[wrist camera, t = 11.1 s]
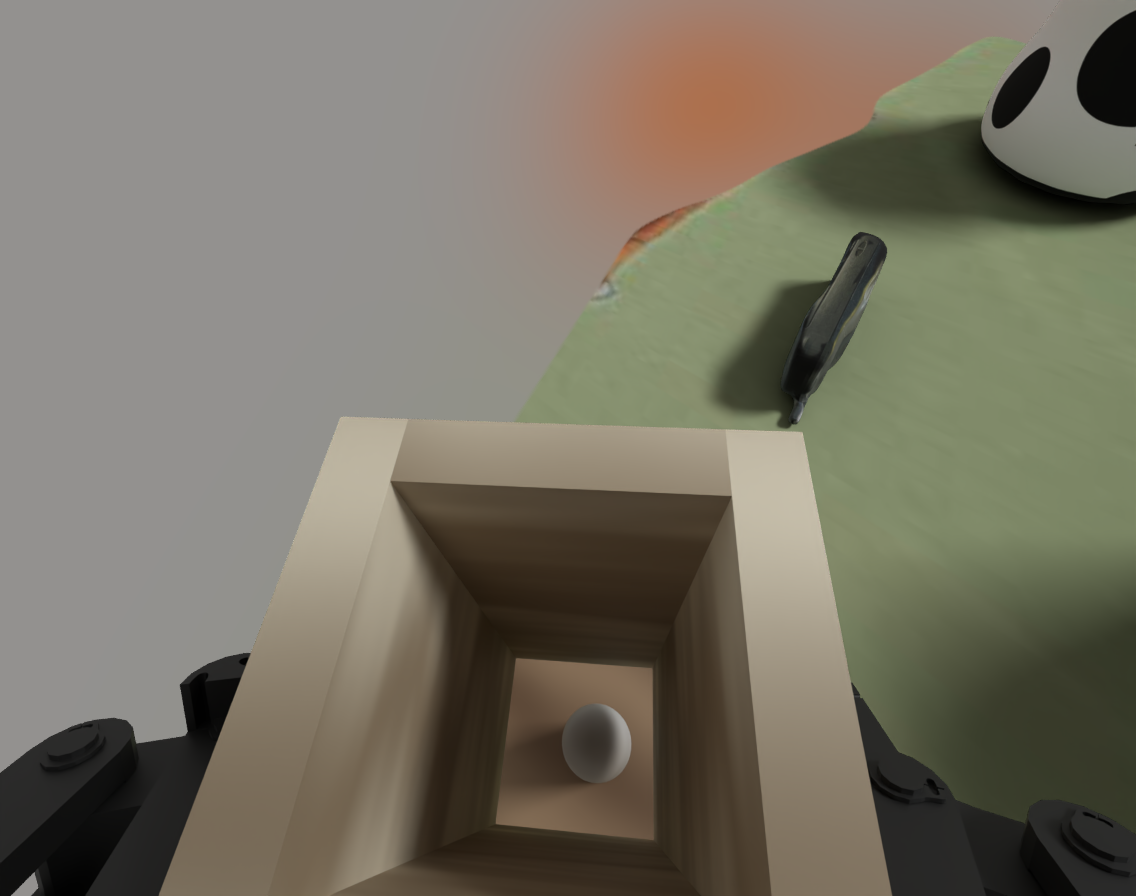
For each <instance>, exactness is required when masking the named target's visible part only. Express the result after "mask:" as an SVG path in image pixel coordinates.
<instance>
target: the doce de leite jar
mask: <svg viewBox="0 0 1136 896" xmlns="http://www.w3.org/2000/svg"><path fill="white" fill-rule="evenodd" d="M981 137H982V143H983V145H984V147H985V148H986V150H987V151H988V152H989V154H990V155H991V156H992V158H993V159H994V161H995V162H996V163H997V165H998V166H1000V167H1001V168H1003V169H1004V170H1006V171H1007V172H1009V173H1010V174H1012V175H1013V176H1014V177H1016V178H1017V179H1019V180H1020V181H1022V182H1025V183H1027V184H1029V185H1032V186H1035V187H1037V188H1040V189H1042V190H1044V191H1047V192H1049V193H1052V194H1055V195H1059V196H1064V197H1069V198H1074V199H1078V200H1082V201H1087V202H1095V203H1115V204H1131V203H1136V0H1060V1H1059V2H1058V4H1057V6H1056V7H1055V9H1054V10H1053V12H1052V13H1051V15H1050V16H1049V18H1048V19H1047V21H1046V22H1045V23H1044V24H1043V26H1042V27H1041V28H1040V29H1039V31H1038V32H1037V33H1036V34H1035V35H1034V36H1033V38H1032V39H1031V40H1030V41H1029V42H1028V43H1027V45H1026V46H1025V47H1024V48H1023V49H1022V50H1021V51H1020V53H1019V54H1018V55H1017V56H1016V57H1015V59H1014V60H1013V61H1012V62H1011V64H1010V65H1009V66H1008V67H1007V69H1006V70H1005V72H1004V73H1003V75H1002V76H1001V78H1000V80H999V82H998V83H997V85H996V87H995V89H994V91H993V93H992V95H991V98H990V100H989V102H988V105H987V108H986V110H985V113H984V116H983V119H982V124H981Z"/></svg>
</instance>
